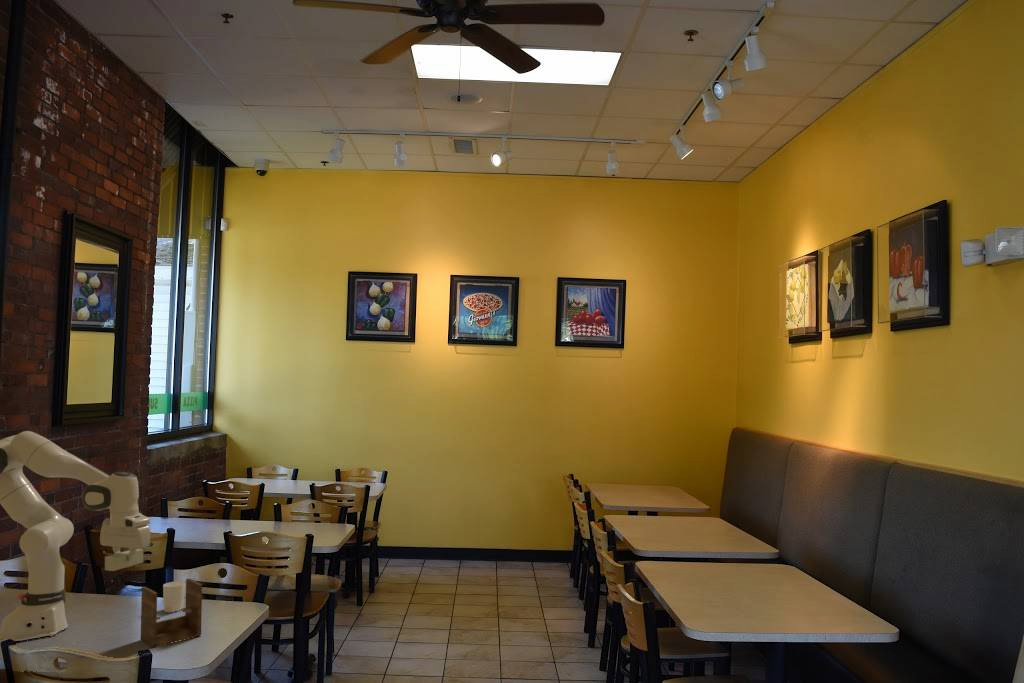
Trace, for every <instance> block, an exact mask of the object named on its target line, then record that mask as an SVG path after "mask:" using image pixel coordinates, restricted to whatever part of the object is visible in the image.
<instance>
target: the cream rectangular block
mask: <svg viewBox="0 0 1024 683" xmlns="http://www.w3.org/2000/svg"><path fill="white" fill-rule="evenodd" d="M120 552H121V551H120ZM129 552H130V551H129V549H128V550H124V551H122V552H121V553H117V554H115V553H113V554H110V555H106V556H104V571H109V572H114V571H118V570H121V569H125V568H129V567H132V566H135V565H139V564H143V563H144V548H142V549H137V550H136V552H135V554H134V560H132V561H127V555H129Z"/></svg>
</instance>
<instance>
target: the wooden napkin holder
mask: <svg viewBox="0 0 1024 683" xmlns="http://www.w3.org/2000/svg"><path fill="white" fill-rule="evenodd" d="M202 602H203V584H202V583H200V582H198V581H196V580H194V579H192V578H186V579H185V607H183V609H182V610H181V611H182V613H184V612H185V615H181V616H176V617H173V618H167V619H164V620H160V619H161V615H160V614H158V613H157V612H158V592H156V591H155V590H153V589H151V588H149V587H147V586H142V587H141V605H140V608H141V609H140V641H141V640H142V641H141V642H143V643H144V644H146V645H147V646H148V647H150V648H151V649H154V647H155V648H157V647H156V646H159V647H161V646H160V645H163V646H165V645H164V644H167V645H169V644H168V643H171V642H175V641H179V640H184V639H188V638H192V637H196V636H200V635H201V636H202V612H203V610H202V609H203V608H202V607H203V606H202ZM157 620H159V621H157ZM201 636H200V637H201ZM196 638H197V637H196ZM192 639H193V638H192ZM188 640H189V639H188ZM184 641H185V640H184ZM175 643H176V642H175ZM171 644H172V643H171Z"/></svg>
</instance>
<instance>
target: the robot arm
mask: <svg viewBox="0 0 1024 683" xmlns="http://www.w3.org/2000/svg"><path fill="white" fill-rule="evenodd" d="M24 466H25V467H26V468H28V469H29V470H31V472H34V473H35V474H38V475H40V476H42V477H45V478H67V479H68V478H69V479H74V480H77V481H80V482H83V483H84V484H86V485H87V486H86V487H85V488H84V489H83V490H82V493H81V501H82V504H83V506H84V507H85V509H87V510H89V511H92V512H97V511H100V512H101V511H103V510H108V509H109V514H110V515H109V517H108V518H107V517H106V518H105V519H104V520H103V521H102V526H101V528H100V533H99V535H100V536H99V543H100V545H101V546H105V547H112V551H113V554H117V553H121V548H128V550H129V551H130V552H129V555H127V561H132V560H134V554H135V552H136V550H137V549H145V548H148V547H149V546H150V544H151V529H150V527H149V524H151V520H150V518H149V517H148V516H146V515H143V513H141V512H140V510H139V509H140V508H139V505H138V501H139V496H140V493H139V492H140V491H139V490H140V488H139V481H138V477H137V475H136V474H135V473H133V472H128V471H115V472H113V473H112V474H109V473H107V472H106V471H103V470H102V469H100V468H99V467H98V468H97V467H96V466H95V465H93V464H91V463H90V462H87V461H86V460H84V459H81V458H79V457H78V456H76V455H74V454H72V453H70V452H68V451H67V450H65V449H63V448H62V447H60V446H59V445H57V444H56V443H55V442H53V441H51V440H49V439H48V438H46V437H44V436H42V435H40V434H38V433H37V432H34V431H31V430H25V431H24V430H23V431H21V432H18V433H16V434H14V435H11V436H8V437H4V438H2V439H0V505H1V507H2V508H3V509H4V511H5V512H6V513H7V515H8V516H9V517H10V518H11V519H12V520H13V521H15V522H16V523H19V524H20V525H21V526H23V527H24V528H25V529H26V530H25V531H24V533H23V534H22V535H21V536H20V539H19V548H20V549H21V550H20V551H22V553H23V554H24V556H25V559H26V564H27V570H28V578H27V579H28V583H27V585H28V586H27V588H28V589H27V592H26V593H25V594H24V593H22V592H21V593H18V595H17V599H19V600H20V605H19V606H17V607H16V608H15V609H13V610H12V611H11V612H10V613H9V614H7V615H6V616H5V617H4V618H3V619H2V623H1V626H0V627H1V628H0V631H1V632H0V641H1V640H4V639H13V638H14V640H20V639H26V638H32V637H41V636H47V635H54V634H56V633H57V632H59V631H61V630H64V629H65V628H67V627H68V628H69V624H68V621H67V618H66V617H67V615H66V610H65V603H66V596H67V594H66V593H67V592H66V587H65V571H66V570H65V569H66V568H65V565H64V563H63V561H62V559H61V554H60V547H62V546H64V545H66V544H67V543H68V542H69V540H70V539H71V538H72V536H73V535H74V532H75V531H74V530H75V527H74V524H73V522H72V521H71V520H70V519H68V518H66V517H64V516H63V515H61V513H59V512H58V511H56V510H55V509H54V508H53V507H52V506H50V505H49V503H47V502H46V501H45V500H44V498H43V497H42V496H41V495H40V493H39V492H38V491H37V489H35V487H34V485H33V484H32V483H31V482H30V480H29V479H28V478H27V477H26V475H25V474H24V471H23V467H24ZM68 628H67V629H68ZM65 630H66V629H65ZM65 630H64V631H65ZM61 632H62V631H61ZM59 633H60V632H59ZM56 635H57V634H56Z"/></svg>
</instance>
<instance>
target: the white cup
mask: <svg viewBox="0 0 1024 683" xmlns="http://www.w3.org/2000/svg"><path fill="white" fill-rule="evenodd" d="M162 590H163V593H162V594H163V611H164V613H176V612H175V611H178V612H180V611H179V610H181V609H183V608H184V603H185V595H186V581H181V580H180V581H179V580H178V581H171V582H166V583H164V584H163V585H162ZM181 611H182V610H181Z"/></svg>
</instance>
